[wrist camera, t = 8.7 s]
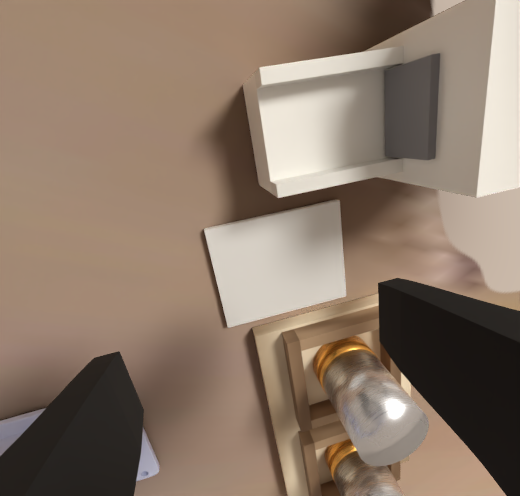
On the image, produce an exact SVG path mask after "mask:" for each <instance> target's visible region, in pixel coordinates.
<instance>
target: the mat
mask: <svg viewBox="0 0 520 496" xmlns="http://www.w3.org/2000/svg"><path fill="white" fill-rule="evenodd" d="M204 232H205V236H206V240H207V244H208V248H209V252H210V256H211V261H212V265H213V269H214V273H215V277H216V281H217V285H218V289H219V293H220V297H221V301H222V305H223V310H224V314H225V318H226V322H227V326H228V328H230V327H233V326H237V325H241V324H244V323H248V322H252V321H256V320H259V319H263V318H267V317H271V316H274V315H278V314H282V313H285V312H289V311H293V310H297V309H300V308H304V307H308V306H312V305H315V304H319V303H323V302H326V301H330V300H334V299H338V298H341V297H345V296H346V284H345V269H344V255H343V240H342V226H341V211H340V200H337V199H336V200H331V201H327V202H322V203H318V204H313V205H308V206H304V207H299V208H295V209H290V210H286V211H281V212H277V213H272V214H268V215H263V216H258V217H254V218H249V219H245V220H240V221H236V222H231V223H227V224H222V225H217V226H213V227H208V228H204Z"/></svg>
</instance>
